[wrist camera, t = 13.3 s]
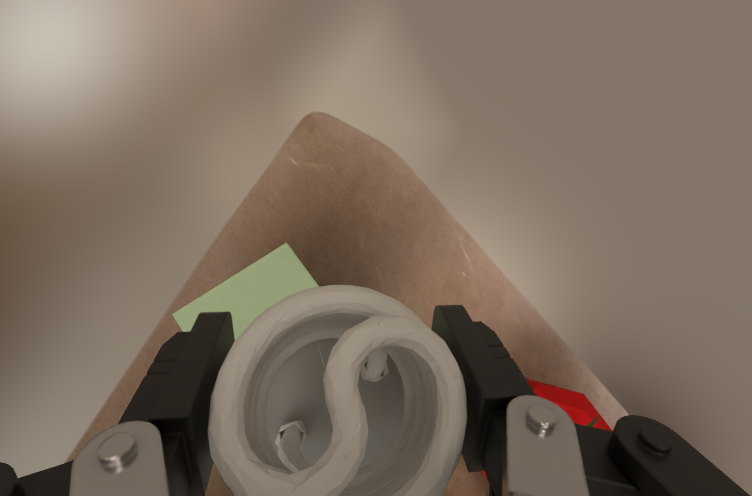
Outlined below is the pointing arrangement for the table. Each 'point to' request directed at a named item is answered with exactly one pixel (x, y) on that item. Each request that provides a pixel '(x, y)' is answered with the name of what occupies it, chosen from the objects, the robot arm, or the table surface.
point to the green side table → (251, 290)
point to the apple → (570, 405)
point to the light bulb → (338, 400)
